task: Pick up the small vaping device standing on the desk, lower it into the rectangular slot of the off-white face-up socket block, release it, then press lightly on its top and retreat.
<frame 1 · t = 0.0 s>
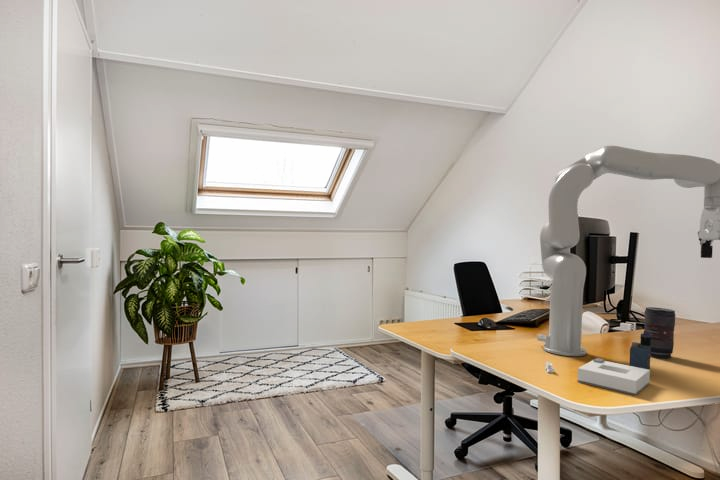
hand: (716, 258, 141), 31 cm above the table, tool pointing down, fingers open, 9 cm apart
socket block: (613, 382, 116), on the table
power adapter: (554, 374, 124), on the table
camera lens: (658, 356, 143), on the table
vaping device: (639, 374, 124), on the table
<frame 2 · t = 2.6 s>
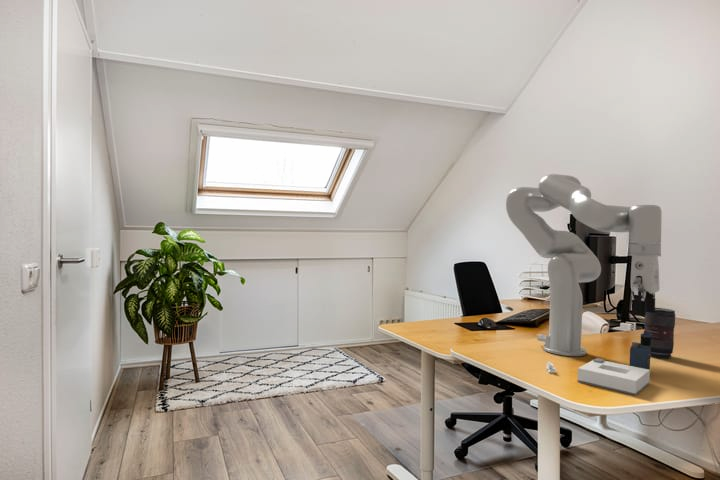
hand: (643, 313, 123), 17 cm above the table, tool pointing down, fingers open, 9 cm apart
nothing on the table moved.
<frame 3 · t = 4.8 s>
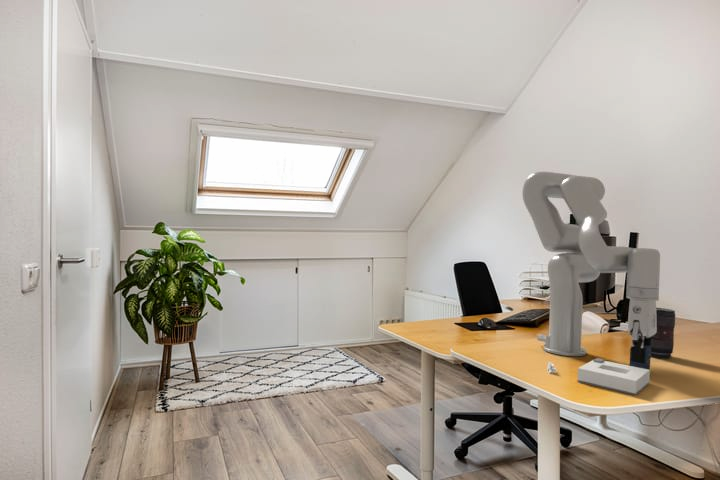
hand: (640, 360, 124), 4 cm above the table, tool pointing down, fingers closed on vaping device, 3 cm apart
vaping device: (639, 374, 124), on the table, touching gripper
everything else where it was.
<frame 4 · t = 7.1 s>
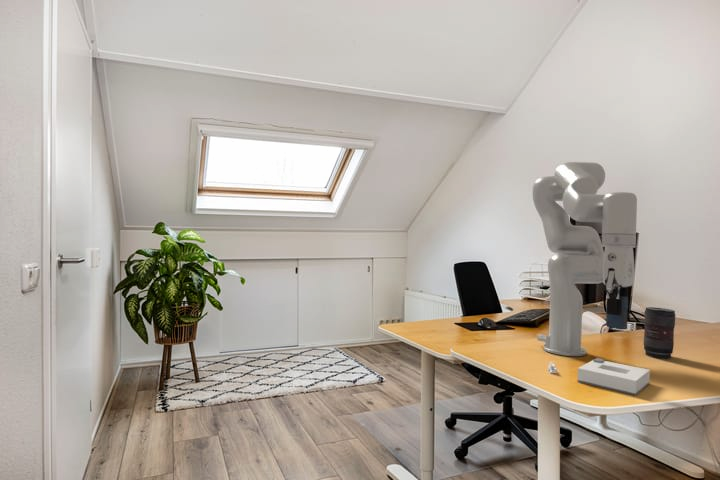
hand: (616, 313, 115), 18 cm above the table, tool pointing down, fingers closed on vaping device, 3 cm apart
vaping device: (616, 328, 115), point 14 cm above the table, touching gripper
everything else where it was.
when the fingers open (5 cm above the table, at t = 9.4 s): vaping device stays where it is, resting on socket block.
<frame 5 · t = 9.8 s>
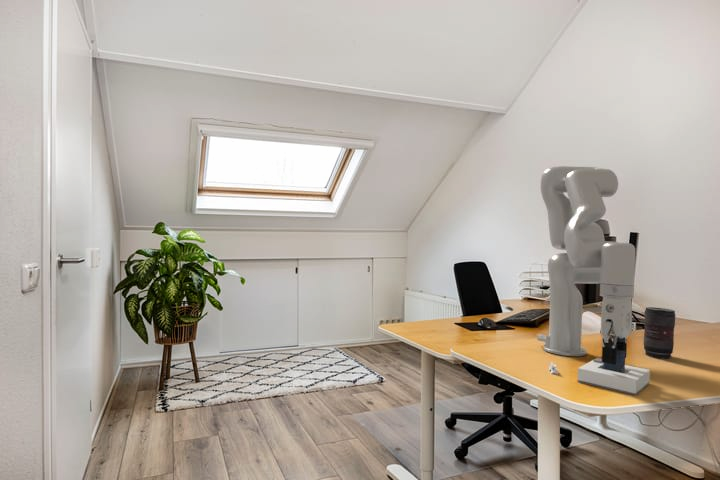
hand: (614, 359, 116), 6 cm above the table, tool pointing down, fingers open, 7 cm apart
vaping device: (613, 381, 116), resting on socket block
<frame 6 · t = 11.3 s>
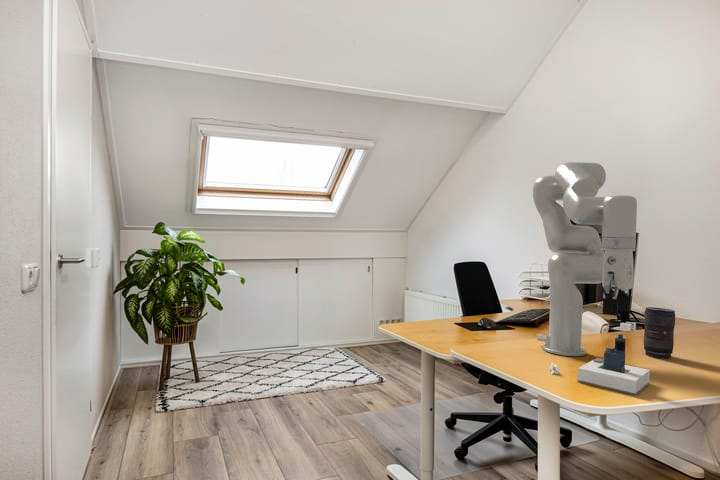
hand: (615, 312, 116), 18 cm above the table, tool pointing down, fingers open, 8 cm apart
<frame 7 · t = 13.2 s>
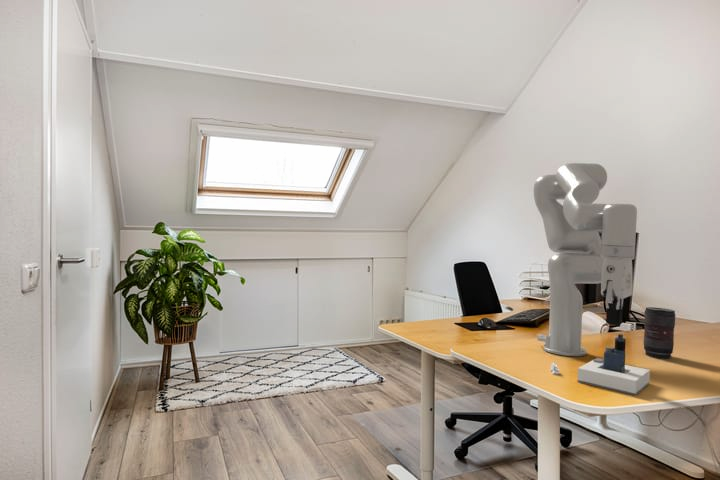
hand: (613, 323, 116), 15 cm above the table, tool pointing down, fingers closed
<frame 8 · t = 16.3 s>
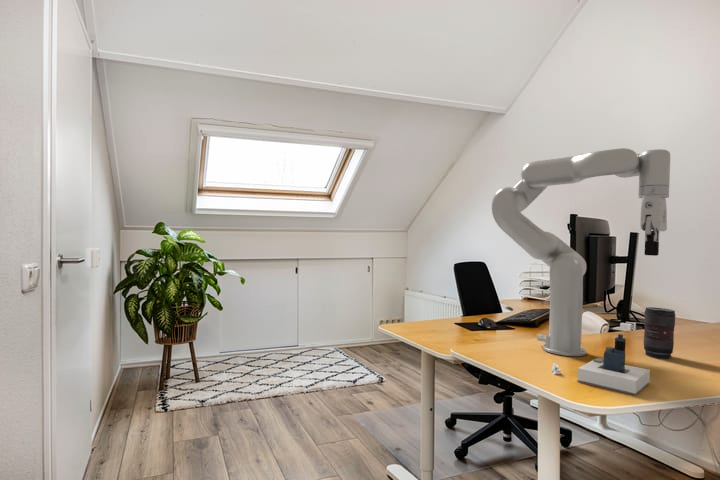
hand: (651, 255, 133), 32 cm above the table, tool pointing down, fingers closed
at the end: vaping device 0.2 cm off-centre on the socket block, point 0.3 cm above the socket block's base; vaping device tilted 0°; the gripper is holding nothing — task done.
